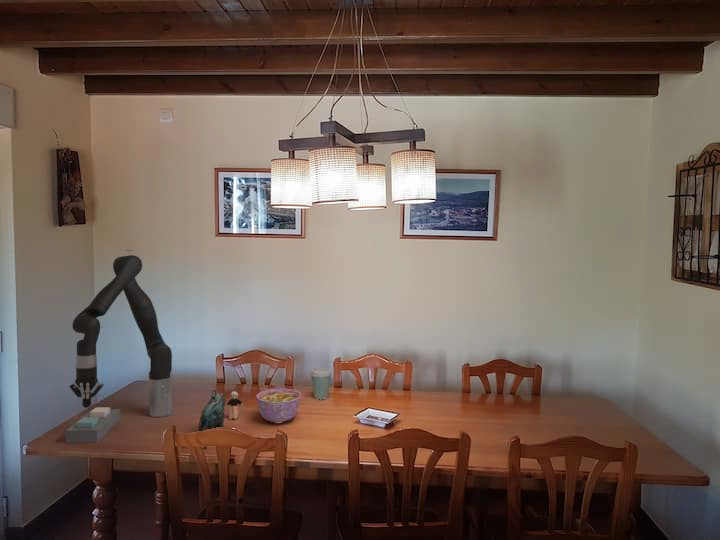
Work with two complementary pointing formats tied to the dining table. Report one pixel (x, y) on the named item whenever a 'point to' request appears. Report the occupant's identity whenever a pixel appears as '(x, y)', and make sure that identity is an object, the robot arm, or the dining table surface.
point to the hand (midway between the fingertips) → (86, 406)
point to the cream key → (100, 412)
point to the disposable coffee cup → (320, 382)
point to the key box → (92, 429)
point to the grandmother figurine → (234, 405)
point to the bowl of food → (278, 404)
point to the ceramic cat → (213, 412)
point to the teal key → (88, 422)
